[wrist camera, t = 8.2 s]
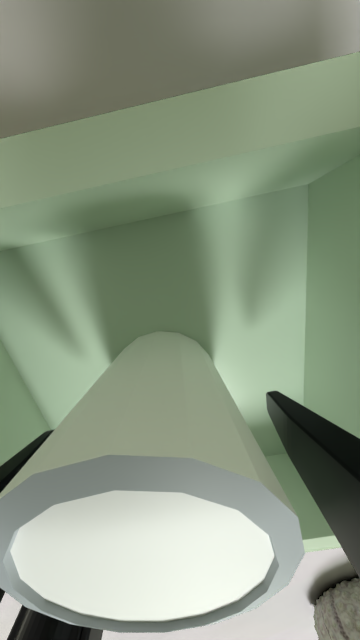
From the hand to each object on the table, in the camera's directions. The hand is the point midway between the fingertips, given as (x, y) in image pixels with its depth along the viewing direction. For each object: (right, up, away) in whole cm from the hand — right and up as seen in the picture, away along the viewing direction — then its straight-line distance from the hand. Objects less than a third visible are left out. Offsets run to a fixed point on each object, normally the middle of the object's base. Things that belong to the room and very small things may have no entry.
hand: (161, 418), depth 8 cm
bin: (0, +1, +4) cm, 4 cm away
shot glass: (0, +1, +3) cm, 3 cm away
